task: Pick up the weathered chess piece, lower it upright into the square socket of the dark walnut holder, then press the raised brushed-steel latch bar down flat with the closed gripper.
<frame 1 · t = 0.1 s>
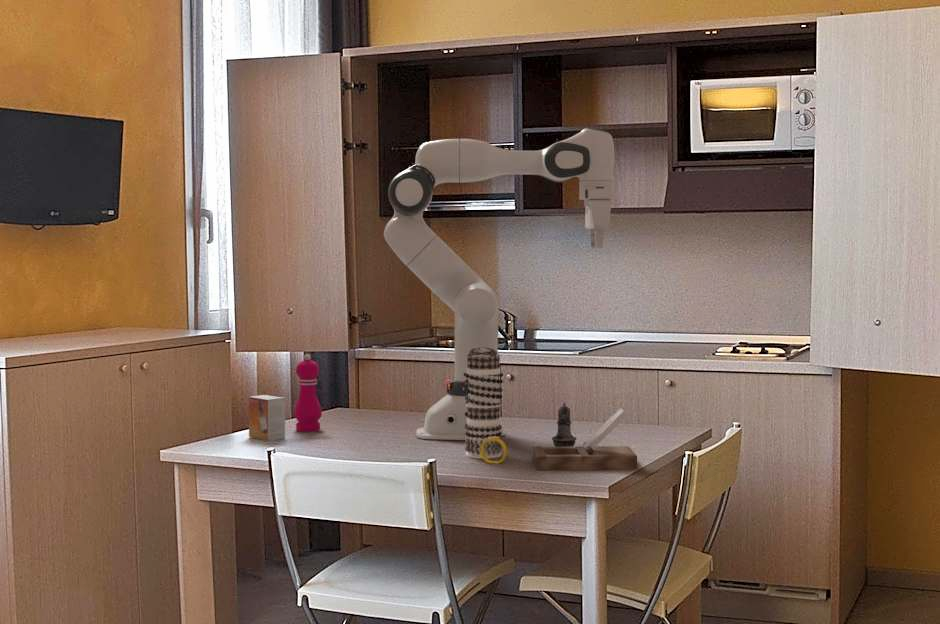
hand: (596, 247, 307), 48 cm above the table, fingers open, 8 cm apart
latch bar: (605, 430, 269), point 8 cm above the table, hinge at 45.0°
weathered chess piece: (564, 454, 284), on the table
yellow faceted ring: (493, 463, 272), on the table
decorative candle: (483, 456, 281), on the table
pepper mill: (308, 430, 317), on the table
walnut holder: (583, 464, 270), on the table
small box: (267, 438, 305), on the table
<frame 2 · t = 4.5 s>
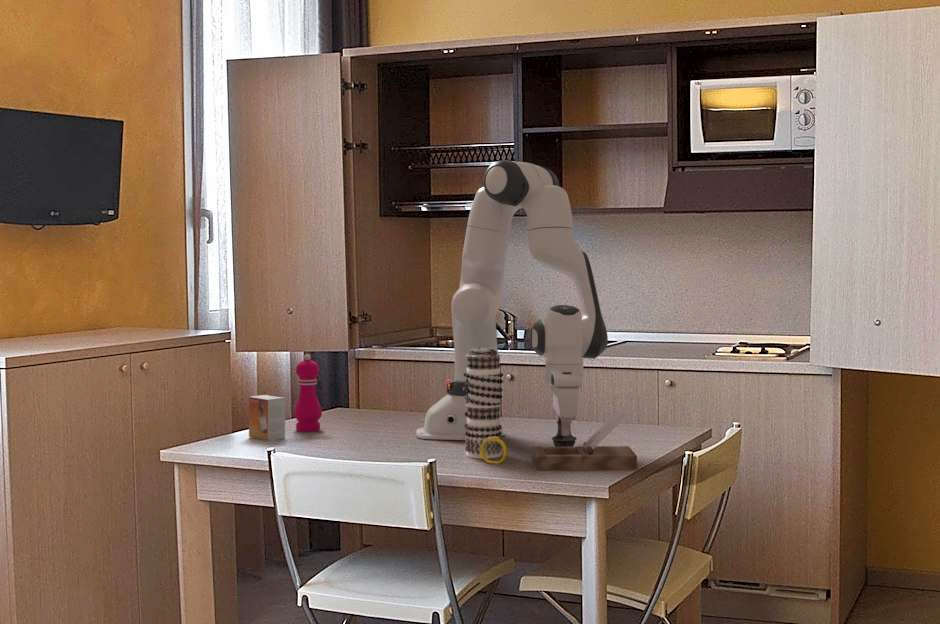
hand: (564, 433, 283), 5 cm above the table, fingers closed on weathered chess piece, 3 cm apart
weathered chess piece: (564, 453, 284), on the table, touching gripper
everything else where it was.
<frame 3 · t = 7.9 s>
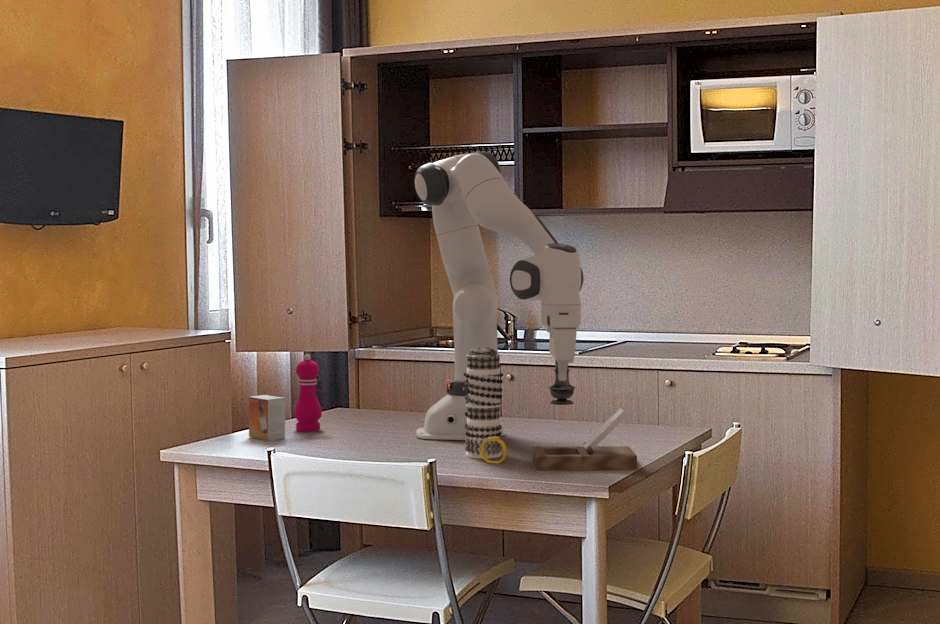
hand: (561, 379, 268), 19 cm above the table, fingers closed on weathered chess piece, 3 cm apart
weathered chess piece: (562, 404, 269), point 14 cm above the table, touching gripper
everything else where it was.
when the fingers open (6 cm above the table, at t = 10.5 s): weathered chess piece moves 1 cm, resting on walnut holder.
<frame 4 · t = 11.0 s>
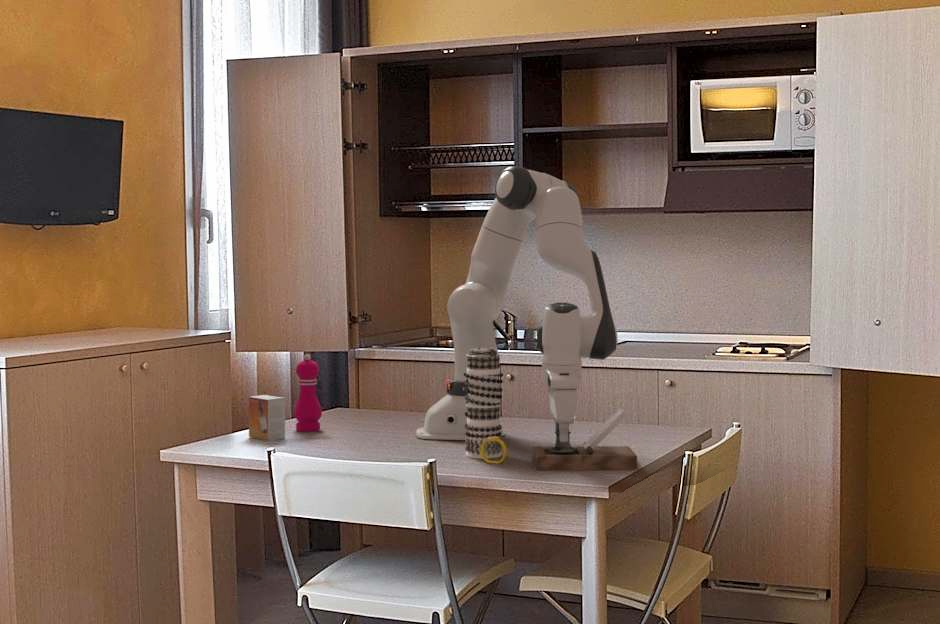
hand: (561, 437, 269), 6 cm above the table, fingers open, 8 cm apart
weathered chess piece: (562, 466, 269), resting on walnut holder
everything else where it was.
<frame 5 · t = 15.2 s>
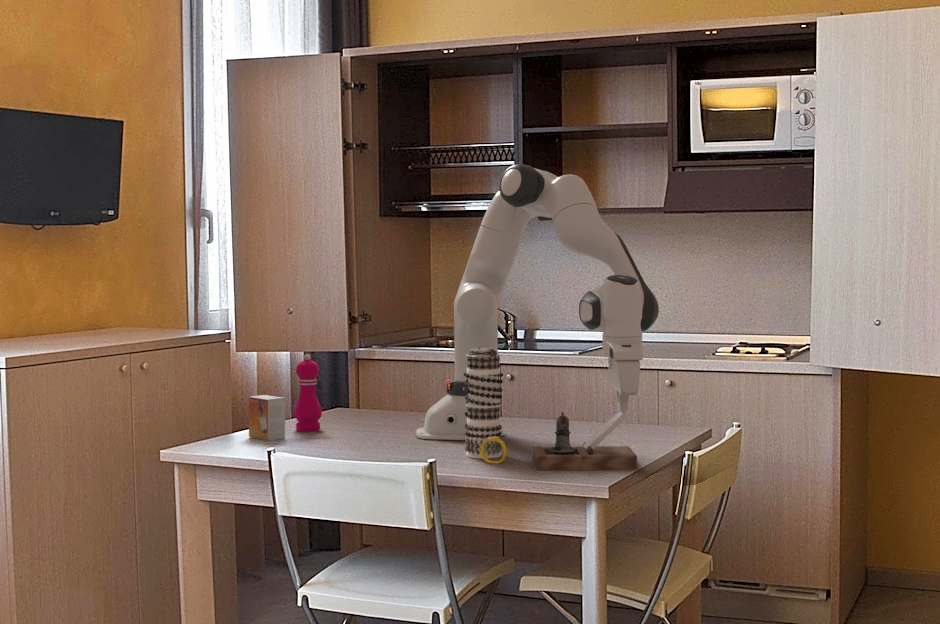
hand: (622, 410, 269), 12 cm above the table, fingers closed, pressing on latch bar
latch bar: (605, 430, 269), point 8 cm above the table, hinge at 43.4°, touching gripper
weathered chess piece: (562, 466, 269), resting on walnut holder
everything else where it was.
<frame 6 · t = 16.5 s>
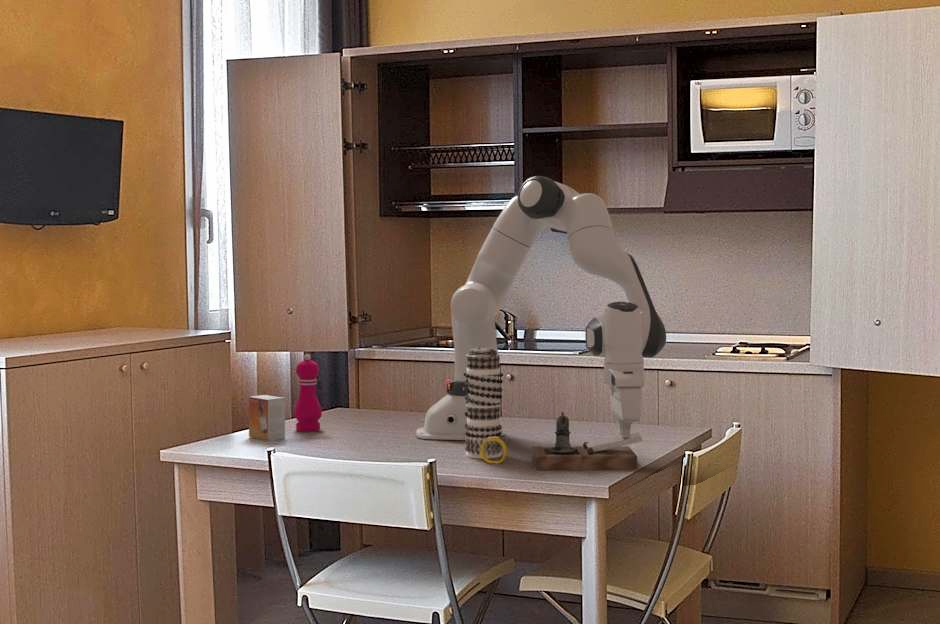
hand: (625, 436, 269), 6 cm above the table, fingers closed, pressing on latch bar
latch bar: (613, 442, 270), point 5 cm above the table, hinge at 12.2°, touching gripper
everything else where it was.
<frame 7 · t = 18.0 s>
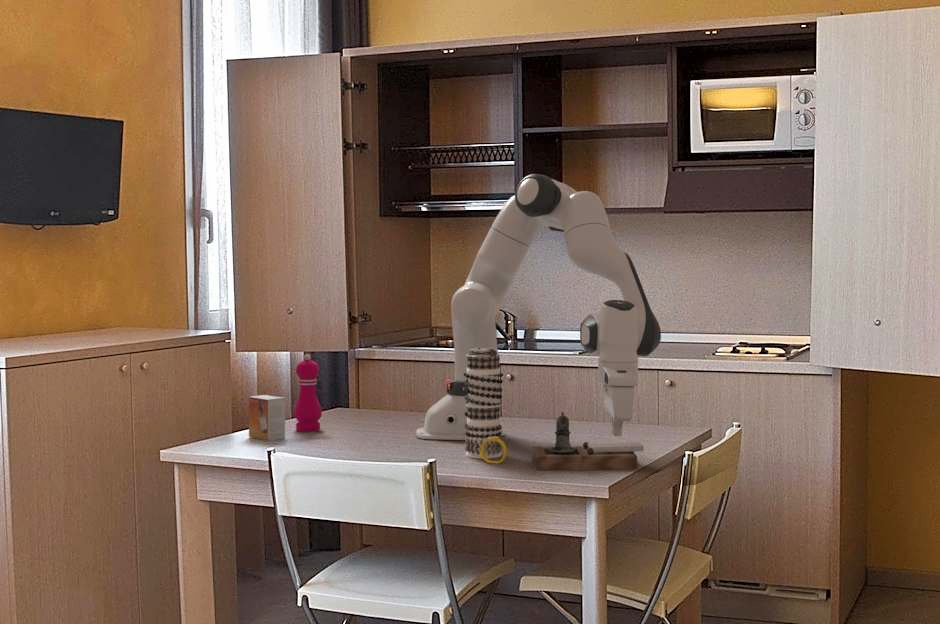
hand: (616, 435, 269), 7 cm above the table, fingers closed
latch bar: (614, 447, 270), point 4 cm above the table, hinge at 1.4°
everything else where it was.
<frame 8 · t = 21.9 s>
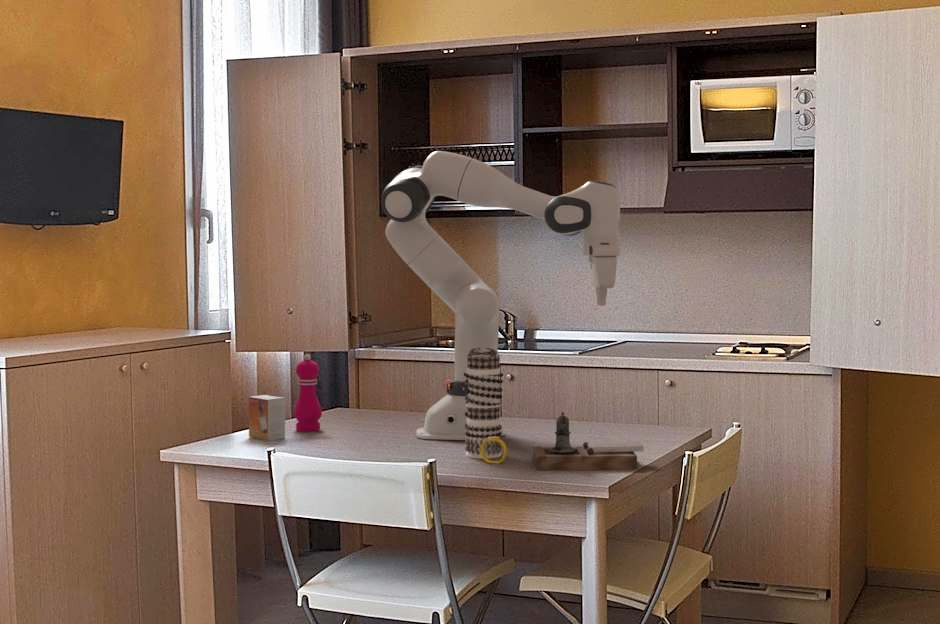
hand: (601, 305, 293), 34 cm above the table, fingers closed
nothing on the table moved.
at the end: weathered chess piece 1.2 cm from the target spot on the walnut holder, point 0.0 cm above the walnut holder's base; weathered chess piece tilted 1°; latch bar at +1° (first picture: +45°) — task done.
